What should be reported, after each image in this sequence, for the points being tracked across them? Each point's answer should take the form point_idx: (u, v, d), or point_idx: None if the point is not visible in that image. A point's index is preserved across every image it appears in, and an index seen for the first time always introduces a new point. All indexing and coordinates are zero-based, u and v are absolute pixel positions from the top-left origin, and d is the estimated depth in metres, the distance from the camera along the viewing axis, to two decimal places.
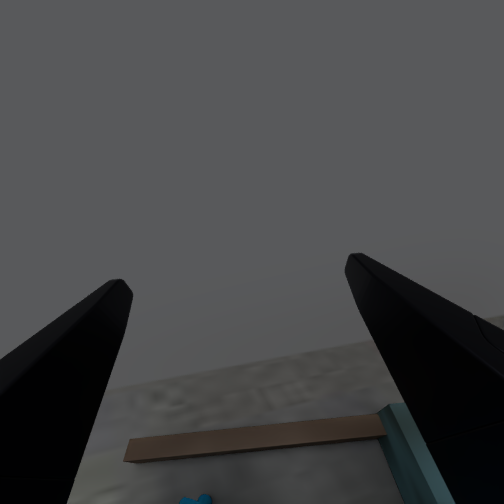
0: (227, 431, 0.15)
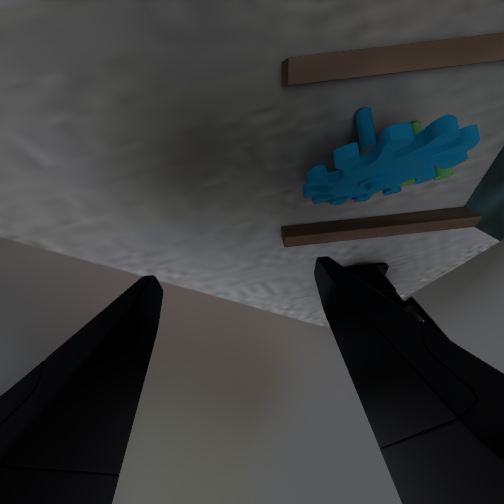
0: (422, 45, 0.11)
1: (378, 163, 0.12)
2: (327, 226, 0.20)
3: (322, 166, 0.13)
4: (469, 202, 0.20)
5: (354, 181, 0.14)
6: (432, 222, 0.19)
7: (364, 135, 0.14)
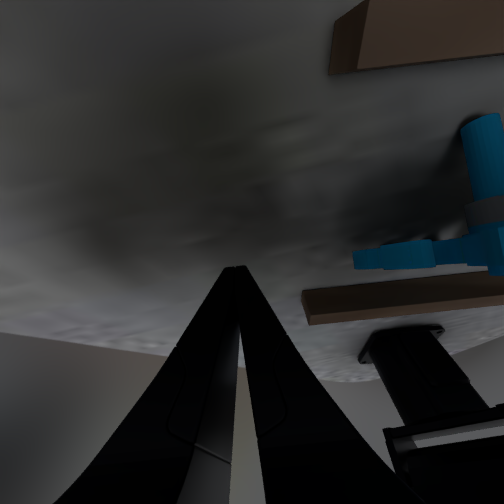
0: None
1: None
2: (373, 293, 0.13)
3: (428, 243, 0.06)
4: None
5: None
6: None
7: (489, 168, 0.07)
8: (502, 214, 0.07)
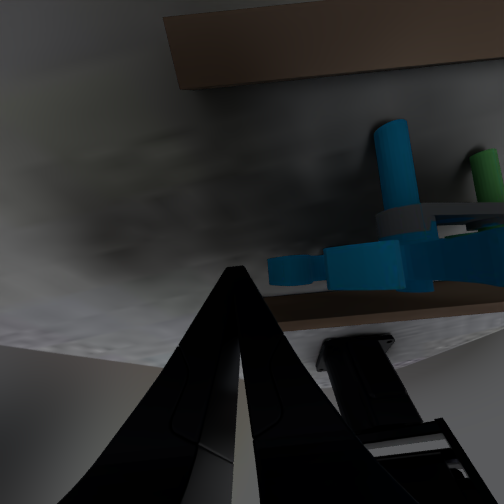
0: None
1: None
2: (305, 304, 0.13)
3: (299, 258, 0.05)
4: None
5: None
6: (468, 306, 0.12)
7: (393, 177, 0.07)
8: (399, 227, 0.06)
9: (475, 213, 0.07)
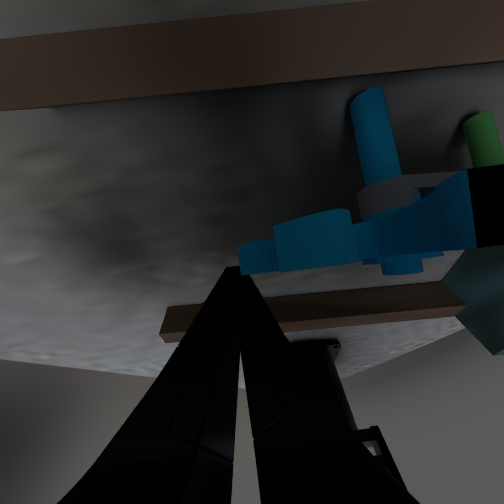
0: (288, 19, 0.04)
1: None
2: None
3: (264, 244, 0.05)
4: (448, 277, 0.13)
5: None
6: (388, 313, 0.12)
7: (371, 151, 0.06)
8: (379, 204, 0.06)
9: None
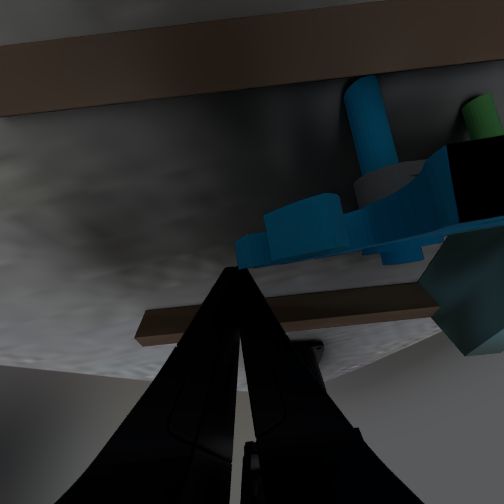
0: (210, 30, 0.04)
1: (414, 237, 0.04)
2: None
3: (259, 237, 0.05)
4: (424, 278, 0.13)
5: (350, 251, 0.06)
6: (362, 315, 0.12)
7: (366, 140, 0.06)
8: (376, 193, 0.06)
9: None
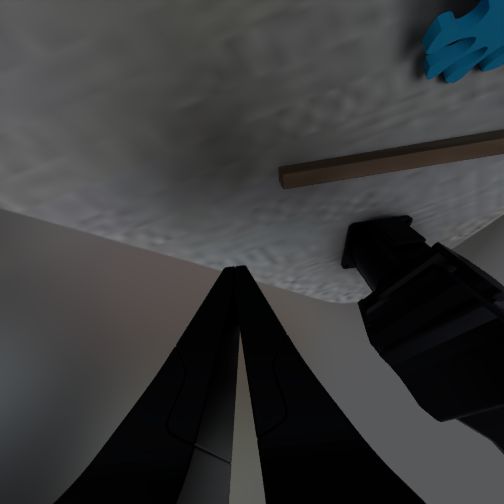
0: None
1: None
2: (336, 161, 0.16)
3: None
4: None
5: None
6: (473, 144, 0.15)
7: None
8: None
9: None
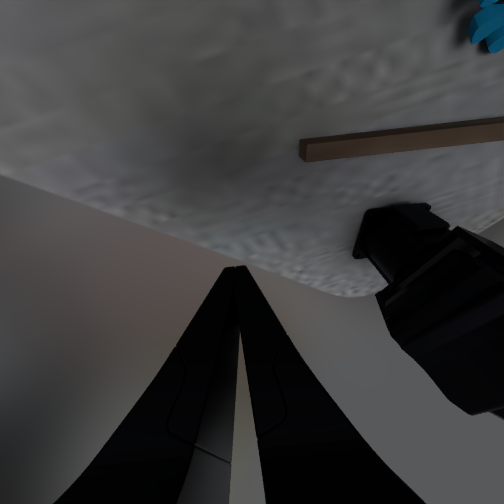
0: None
1: None
2: (363, 134, 0.15)
3: None
4: None
5: None
6: None
7: None
8: None
9: None
